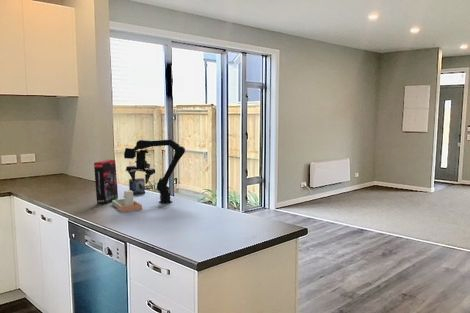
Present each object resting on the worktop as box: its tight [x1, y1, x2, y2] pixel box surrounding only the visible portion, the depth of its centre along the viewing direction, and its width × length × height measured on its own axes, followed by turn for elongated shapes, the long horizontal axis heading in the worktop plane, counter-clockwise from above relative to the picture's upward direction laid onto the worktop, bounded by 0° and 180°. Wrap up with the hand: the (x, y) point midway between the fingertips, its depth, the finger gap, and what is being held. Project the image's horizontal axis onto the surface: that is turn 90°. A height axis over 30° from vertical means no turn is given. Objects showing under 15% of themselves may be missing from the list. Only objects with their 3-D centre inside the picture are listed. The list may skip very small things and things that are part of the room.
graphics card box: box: [93, 159, 119, 205], centre depth 263 cm, size 17×7×27 cm, turn 168°
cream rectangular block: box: [123, 189, 134, 206], centre depth 243 cm, size 4×6×11 cm
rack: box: [111, 198, 143, 213], centre depth 248 cm, size 23×12×3 cm, turn 31°
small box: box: [128, 178, 146, 195], centre depth 290 cm, size 11×6×10 cm, turn 112°
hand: (140, 182), depth 259 cm, fingers open, 9 cm apart
